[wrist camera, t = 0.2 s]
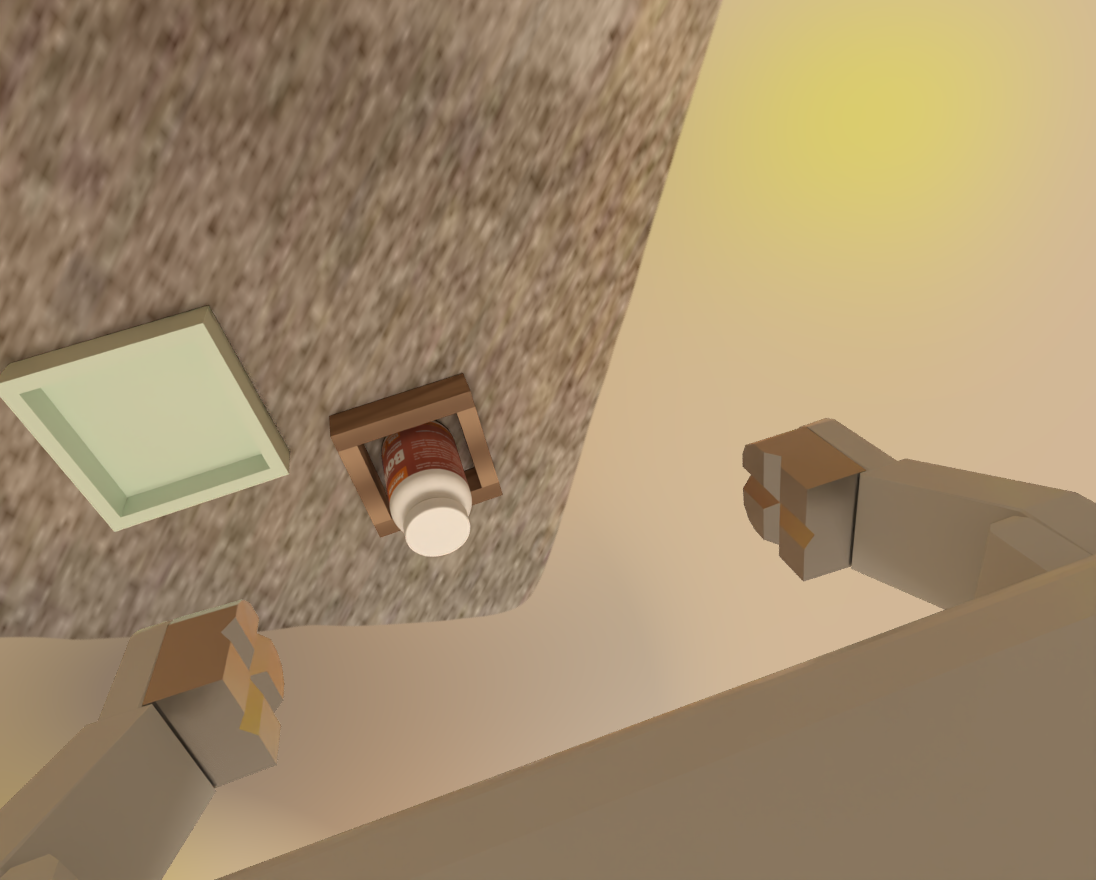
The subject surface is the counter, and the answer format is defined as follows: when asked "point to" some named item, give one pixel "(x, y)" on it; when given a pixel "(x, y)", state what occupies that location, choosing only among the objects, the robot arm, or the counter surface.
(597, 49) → the counter surface
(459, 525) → the pill bottle
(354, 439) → the collar
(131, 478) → the tray
